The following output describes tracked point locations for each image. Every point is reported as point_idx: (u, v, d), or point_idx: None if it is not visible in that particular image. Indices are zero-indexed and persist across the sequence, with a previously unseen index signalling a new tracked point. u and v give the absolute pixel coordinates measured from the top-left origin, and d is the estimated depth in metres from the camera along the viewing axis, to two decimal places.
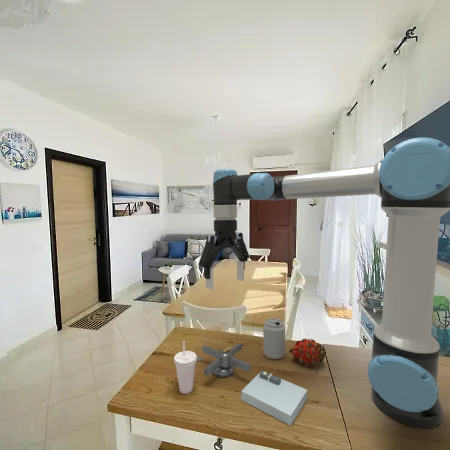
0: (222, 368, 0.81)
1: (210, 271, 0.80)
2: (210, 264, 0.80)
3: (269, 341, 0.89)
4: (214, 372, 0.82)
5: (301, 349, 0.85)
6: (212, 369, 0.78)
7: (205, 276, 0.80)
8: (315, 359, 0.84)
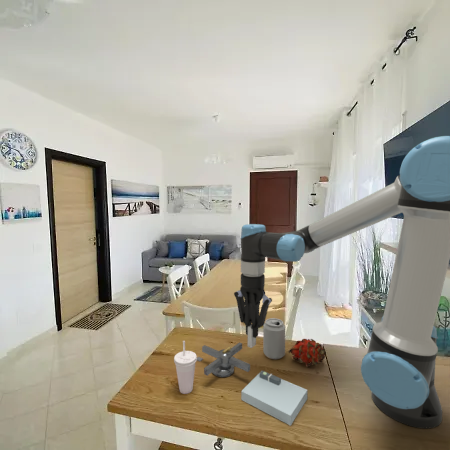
0: (222, 368, 0.81)
1: (248, 329, 0.84)
2: (246, 321, 0.84)
3: (269, 341, 0.89)
4: (214, 372, 0.82)
5: (301, 349, 0.85)
6: (212, 369, 0.78)
7: None
8: (315, 359, 0.84)
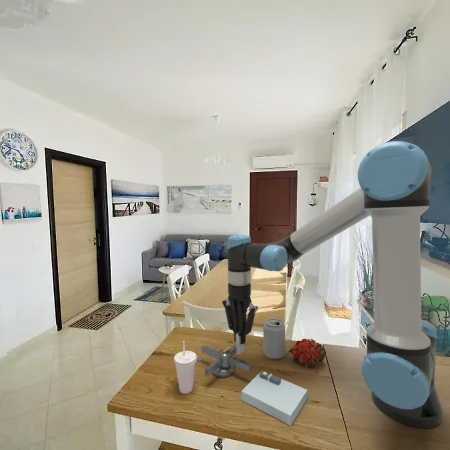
0: (222, 368, 0.81)
1: None
2: (234, 329, 0.87)
3: (269, 341, 0.89)
4: (214, 372, 0.81)
5: (301, 349, 0.85)
6: (213, 369, 0.77)
7: None
8: (315, 359, 0.84)
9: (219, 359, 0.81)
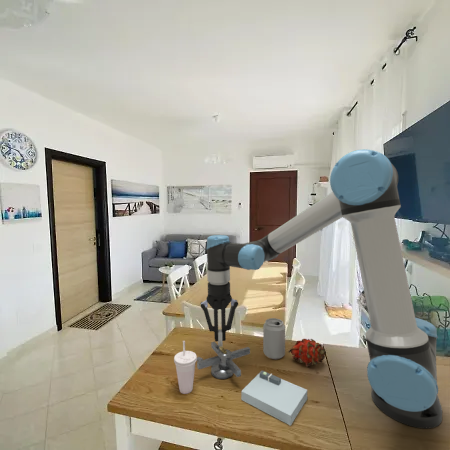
0: (229, 367, 0.82)
1: (218, 335, 0.89)
2: (216, 329, 0.88)
3: (269, 341, 0.89)
4: (225, 376, 0.80)
5: (301, 349, 0.85)
6: None
7: None
8: (315, 359, 0.84)
9: (229, 359, 0.81)
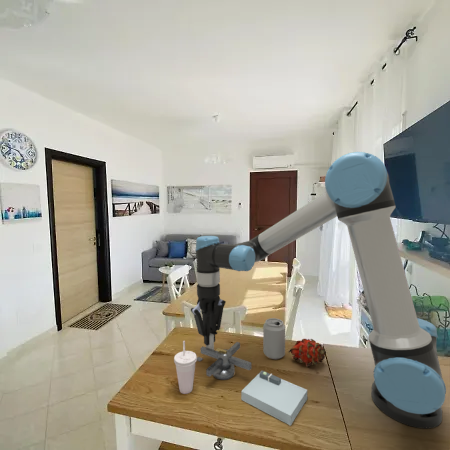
0: (230, 365, 0.83)
1: (209, 338, 0.87)
2: (208, 332, 0.86)
3: (269, 341, 0.89)
4: (231, 374, 0.80)
5: (301, 349, 0.85)
6: None
7: (205, 342, 0.87)
8: (315, 359, 0.84)
9: (232, 357, 0.82)
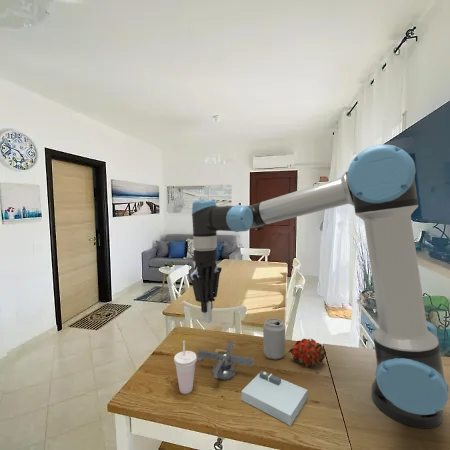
0: (231, 364, 0.83)
1: (207, 305, 0.84)
2: (206, 298, 0.84)
3: (269, 341, 0.89)
4: (234, 373, 0.81)
5: (301, 349, 0.85)
6: None
7: (202, 310, 0.84)
8: (315, 359, 0.84)
9: (233, 356, 0.82)
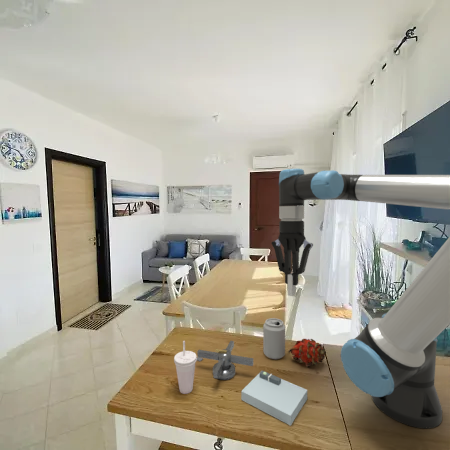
0: (231, 364, 0.83)
1: (288, 277, 0.83)
2: (285, 270, 0.83)
3: (269, 341, 0.89)
4: (234, 373, 0.81)
5: (301, 349, 0.85)
6: None
7: None
8: (315, 359, 0.84)
9: (233, 356, 0.82)
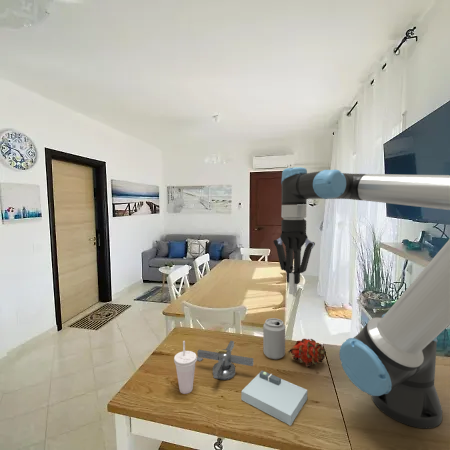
0: (231, 364, 0.83)
1: None
2: (287, 268, 0.83)
3: (269, 341, 0.89)
4: (234, 373, 0.81)
5: (301, 349, 0.85)
6: None
7: None
8: (315, 359, 0.84)
9: (233, 356, 0.82)
